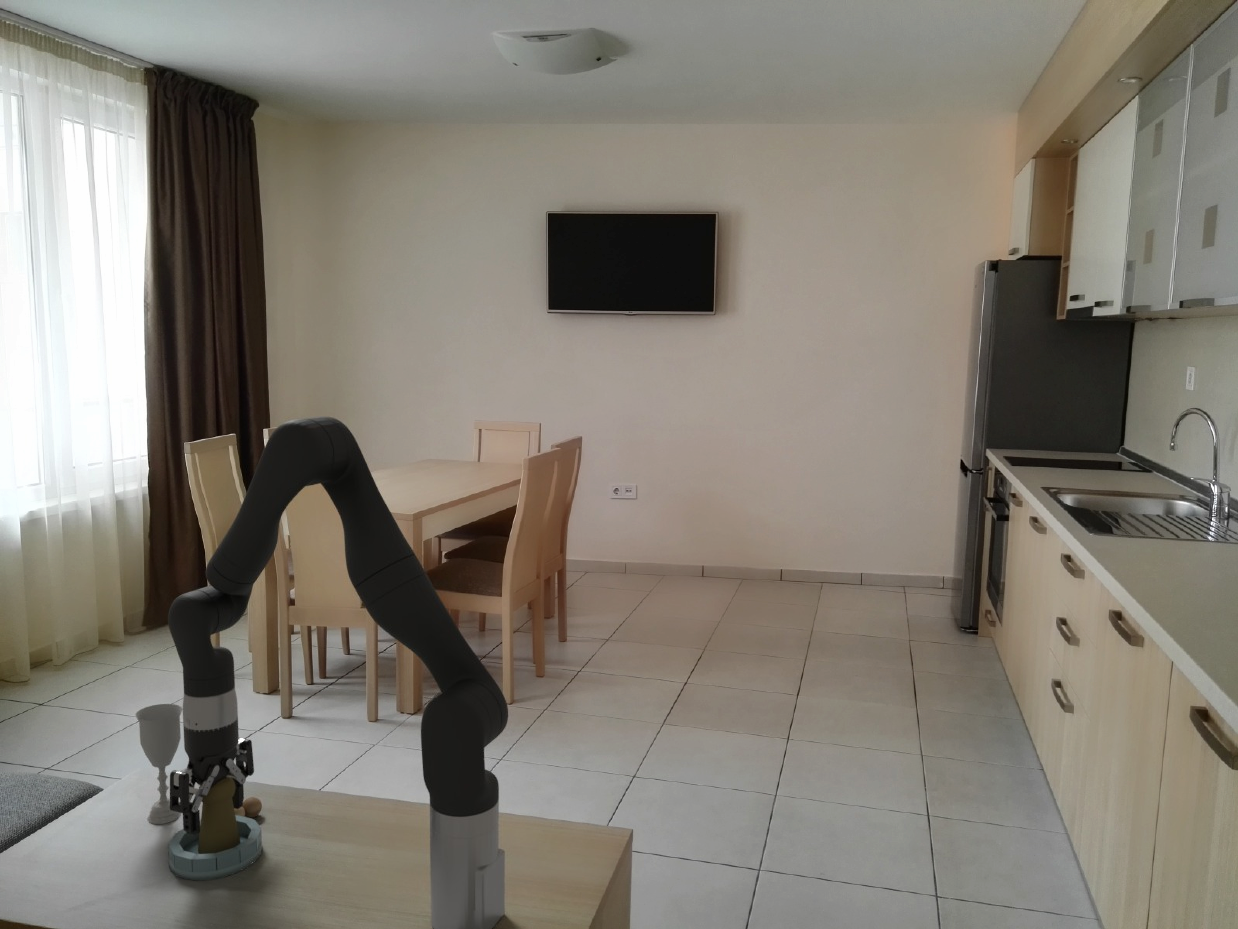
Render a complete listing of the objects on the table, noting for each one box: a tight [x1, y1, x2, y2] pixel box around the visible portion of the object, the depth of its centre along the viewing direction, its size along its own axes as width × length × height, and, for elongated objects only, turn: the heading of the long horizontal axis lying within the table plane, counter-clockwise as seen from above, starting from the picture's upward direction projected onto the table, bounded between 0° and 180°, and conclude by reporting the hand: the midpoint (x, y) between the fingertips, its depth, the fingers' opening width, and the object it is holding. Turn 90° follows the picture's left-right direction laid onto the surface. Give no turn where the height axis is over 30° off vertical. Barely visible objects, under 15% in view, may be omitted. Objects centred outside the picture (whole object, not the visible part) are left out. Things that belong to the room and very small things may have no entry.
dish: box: [167, 815, 263, 881], centre depth 143 cm, size 13×13×3 cm
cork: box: [198, 776, 241, 854], centre depth 142 cm, size 6×6×11 cm
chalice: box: [135, 703, 183, 825], centre depth 153 cm, size 7×7×18 cm
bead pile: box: [234, 796, 263, 819], centre depth 153 cm, size 6×6×3 cm
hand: (215, 819), depth 142 cm, fingers open, 8 cm apart
